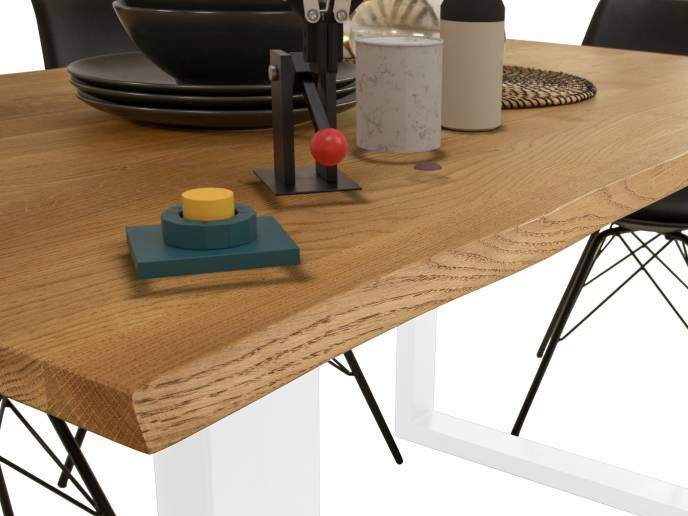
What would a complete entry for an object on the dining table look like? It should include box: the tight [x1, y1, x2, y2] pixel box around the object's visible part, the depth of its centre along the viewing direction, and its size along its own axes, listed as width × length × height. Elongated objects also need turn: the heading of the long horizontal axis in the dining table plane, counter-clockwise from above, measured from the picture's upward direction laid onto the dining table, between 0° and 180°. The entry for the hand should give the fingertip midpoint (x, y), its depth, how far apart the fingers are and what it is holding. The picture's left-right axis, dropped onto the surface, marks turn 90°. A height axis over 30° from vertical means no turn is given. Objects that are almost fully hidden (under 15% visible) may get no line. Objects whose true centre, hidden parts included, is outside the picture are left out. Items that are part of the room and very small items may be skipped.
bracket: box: [252, 49, 363, 197], centre depth 93 cm, size 10×8×13 cm
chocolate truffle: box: [413, 160, 443, 172], centre depth 101 cm, size 3×3×2 cm
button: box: [181, 187, 235, 221], centre depth 72 cm, size 4×4×2 cm
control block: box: [125, 201, 301, 281], centre depth 73 cm, size 11×9×4 cm
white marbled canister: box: [354, 34, 444, 154], centre depth 110 cm, size 10×10×12 cm
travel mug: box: [439, 0, 506, 132], centre depth 125 cm, size 8×8×18 cm
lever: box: [288, 51, 349, 166], centre depth 88 cm, size 13×3×3 cm
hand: (323, 71), depth 83 cm, fingers closed
